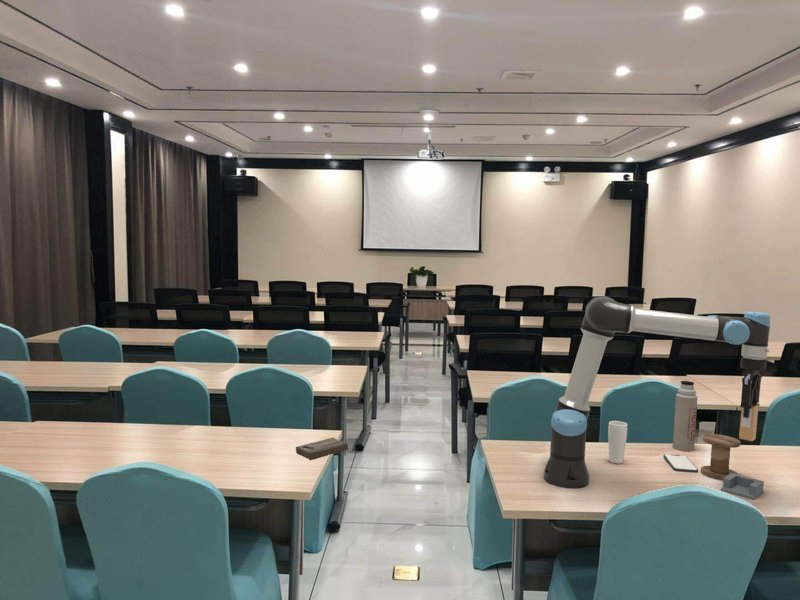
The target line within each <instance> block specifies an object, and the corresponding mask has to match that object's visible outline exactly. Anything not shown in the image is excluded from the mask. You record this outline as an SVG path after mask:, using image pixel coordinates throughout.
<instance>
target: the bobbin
mask: <svg viewBox="0 0 800 600" xmlns="http://www.w3.org/2000/svg"><path fill="white" fill-rule="evenodd" d="M702 441H703V442H704V443H705V444H708V445H711V450H710V462H709V463H710V465H703V466H701V467H700V473H701V474H702V475H703V476H705V477H707V478H710V479H712V480H713V479H714V480H717V481H718V480H719V481H723V479H724V478H725V477H726V476H728V475H729V474H731V473H734V474H738V472H737V471H735V470H734V469H733V470H732V469H730V458H731V448H732V449H733V448H740V446H741V441H740V439H739V438H737V437H733V436H730V435H729V436H728V435H724V434H716V433H712V434H711V433H709V434H703V435H702ZM738 475H739V474H738Z"/></svg>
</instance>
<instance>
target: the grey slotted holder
mask: <svg viewBox="0 0 800 600" xmlns="http://www.w3.org/2000/svg"><path fill="white" fill-rule="evenodd" d="M764 486H765V481H764V480H761V479H757V478H754V477H750V476H745V475H742V474H734V473H731V474H729V475H728V476H726V477H725V478H724V479H723V480H722V487H720V492H721V491H722V492H724V493H728V494H731V495H735V496H738V497H742V498H746V499H750V500H755V499H757V497H759V496H760V495H761V494H763V493H764V488H765V487H764Z"/></svg>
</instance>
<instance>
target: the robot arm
mask: <svg viewBox="0 0 800 600" xmlns="http://www.w3.org/2000/svg"><path fill="white" fill-rule="evenodd" d="M584 312H585V314H584V317H583V320H582V324H581V326H580V330H581V332H582V334H583V335H582V338H581V341H580V343H579V347H578V350H577V353H576V357H575V360H574V364H573V367H572V369H571V373H570V377H569V379H568V383H567V386H566V389H565V393H564V395H563V396H561V397H559V398H558V400H557V403H556V407H555V409H554V412H553V413H552V416H551V421H550V424H551V425H550V426H551V428H550V448H549V449H550V450H549V458H548V461H547V463H546V465H545V468H544V471H543V479H544V480H545V481H546V482H548V483H549V484H551V485H555V486H558V487H561V488H571V489H573V488H574V489H576V488H577V489H578V488H584V487H586V486H588V485H589V483H590V475H589V471H588V467H587V463H586V459H585V457H586V442H587V441H586V440H587V428H588V422H587V421H588V418H589V415H590V412H591V407H590V406H589V400H590V397H591V393H592V390H593V388H594V385H595V381H596V378H597V374H598V372H599V370H600V369H599V368H600V365H601V362H602V359H603V357H604V353H605V350H606V347H607V344H608V341H609V342H610V341H611V340H612V339H614V336H615V333H619V334H620V333H622V334H630V333H631V332H640V333H645V334H646V333H648V334H655V335H662V336H663V335H664V336H671V337H680V338H689V339H699V340H704V341H705V340H706V341H712V342H713V341H715V342H722V343H728V344H730V345H737V346H738V345H741V351H740V352H741V353H740V354H741V356H742V357H741V358H740V368H741V369H744V370H746V371H745V373H744V375H743V377H742V378H741V383H742V384H741V385H742V386H741V400H740V405H739V408H742V407H743V410H742V422H741V426H744V427H748V428H751V418H752V408H751V407H752V403H753V404H758V405H759V406H760V394H761V384H762V383H761V382H762V378H763V376H762V374H760V372H764V371H766V370H767V358H768V353H770V349H768V348H769V347H768V346H769V338H770V337H769V336H770V330H771V329H770V328H771V315H770V314H769V313H767V312H761V311H745V312H744V316H740V317H739V316H726V315H725V316H724V315H718V314H717V315H707V316H704V315H695V314H686V313H679V312H668V311H661V310H652V309H643V308H635V307H634V305H632V304H625V303H622V302H618V301H616V300H615V299H613V298H611V297H609V296H604V295H602V296H596V297H593V298H592V299H591V300H589V302H588V303H586V307H585V311H584Z"/></svg>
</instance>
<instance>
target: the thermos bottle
mask: <svg viewBox="0 0 800 600" xmlns="http://www.w3.org/2000/svg"><path fill="white" fill-rule="evenodd" d="M694 384H695V382H693V381H689V380H682V381H681V380H680V387H679V388H678V390H677V393H676V394H675V408H674V420H673V421H674V422H673V434H672V435H673V437H672V438H673V439H672V448H673V450H674V449H675V450H677V451H681V452H688V453H689V452H693V451H695V440H696V439H695V438H696V426H697V425H696V424H697V422H696V421H697V412H698V411H697V409H698V396H697V391H696V389H695V386H694Z"/></svg>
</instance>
